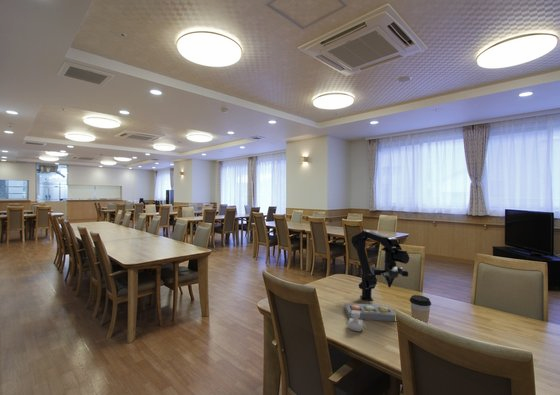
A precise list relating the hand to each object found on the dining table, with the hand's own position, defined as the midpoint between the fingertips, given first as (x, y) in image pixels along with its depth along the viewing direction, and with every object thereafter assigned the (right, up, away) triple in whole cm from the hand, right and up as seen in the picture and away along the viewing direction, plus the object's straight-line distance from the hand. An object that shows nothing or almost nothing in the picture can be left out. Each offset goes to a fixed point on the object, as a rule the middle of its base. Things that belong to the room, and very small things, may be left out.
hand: (389, 287), depth 159 cm
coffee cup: (+5, -13, -24) cm, 28 cm away
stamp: (-26, -12, -26) cm, 39 cm away
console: (-14, -12, -9) cm, 20 cm away
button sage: (-14, -11, -9) cm, 20 cm away
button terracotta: (-21, -11, -8) cm, 26 cm away
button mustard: (-7, -11, -9) cm, 16 cm away
